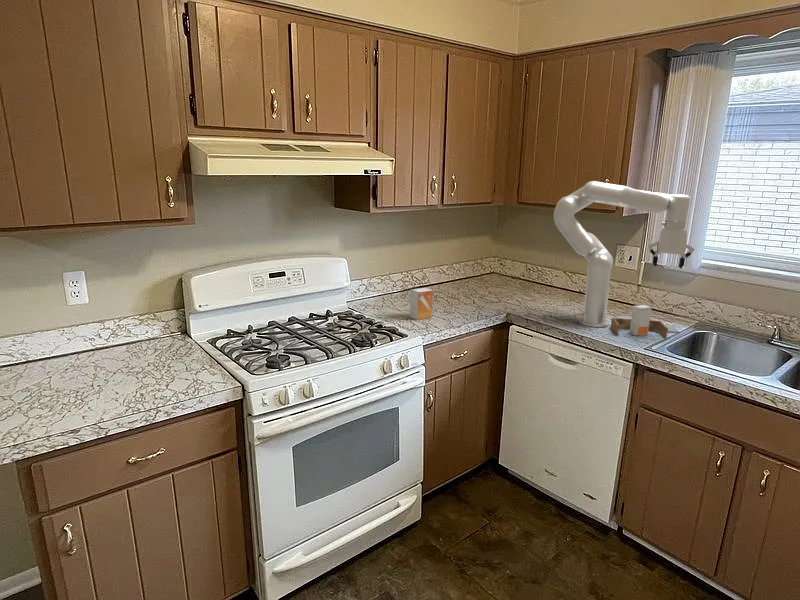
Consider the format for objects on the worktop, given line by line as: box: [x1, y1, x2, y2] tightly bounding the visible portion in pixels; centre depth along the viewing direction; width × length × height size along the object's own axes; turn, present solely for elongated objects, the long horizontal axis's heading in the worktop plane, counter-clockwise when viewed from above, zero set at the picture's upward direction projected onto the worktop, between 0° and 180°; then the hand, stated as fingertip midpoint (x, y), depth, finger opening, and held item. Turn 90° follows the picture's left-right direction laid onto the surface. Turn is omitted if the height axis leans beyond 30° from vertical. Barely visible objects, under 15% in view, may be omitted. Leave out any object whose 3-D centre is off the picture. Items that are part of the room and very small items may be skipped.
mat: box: [654, 324, 681, 334], centre depth 227 cm, size 10×10×1 cm
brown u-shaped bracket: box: [610, 317, 668, 339], centre depth 220 cm, size 20×11×4 cm, turn 80°
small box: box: [409, 287, 434, 321], centre depth 237 cm, size 8×6×13 cm
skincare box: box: [629, 304, 652, 336], centre depth 218 cm, size 6×4×12 cm
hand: (667, 266), depth 216 cm, fingers open, 9 cm apart
